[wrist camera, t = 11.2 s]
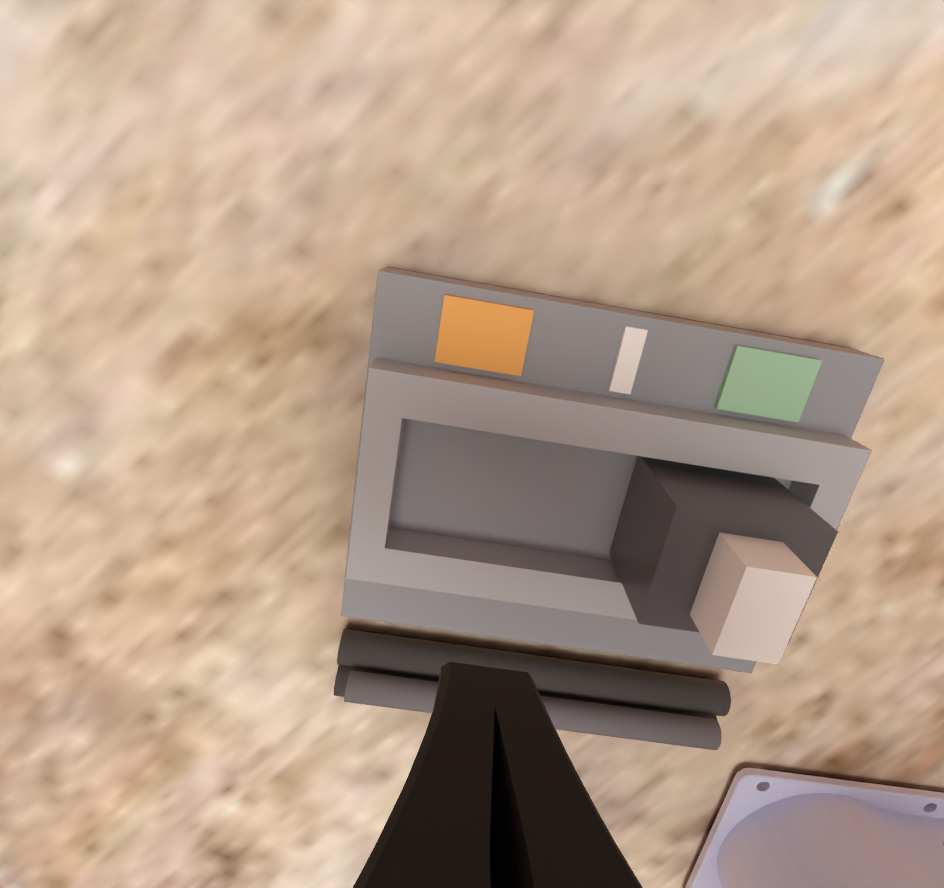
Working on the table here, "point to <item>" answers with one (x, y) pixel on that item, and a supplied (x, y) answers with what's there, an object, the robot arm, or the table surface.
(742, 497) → the breaker slider
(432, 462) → the breaker panel
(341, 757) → the table surface
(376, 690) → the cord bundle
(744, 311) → the table surface
